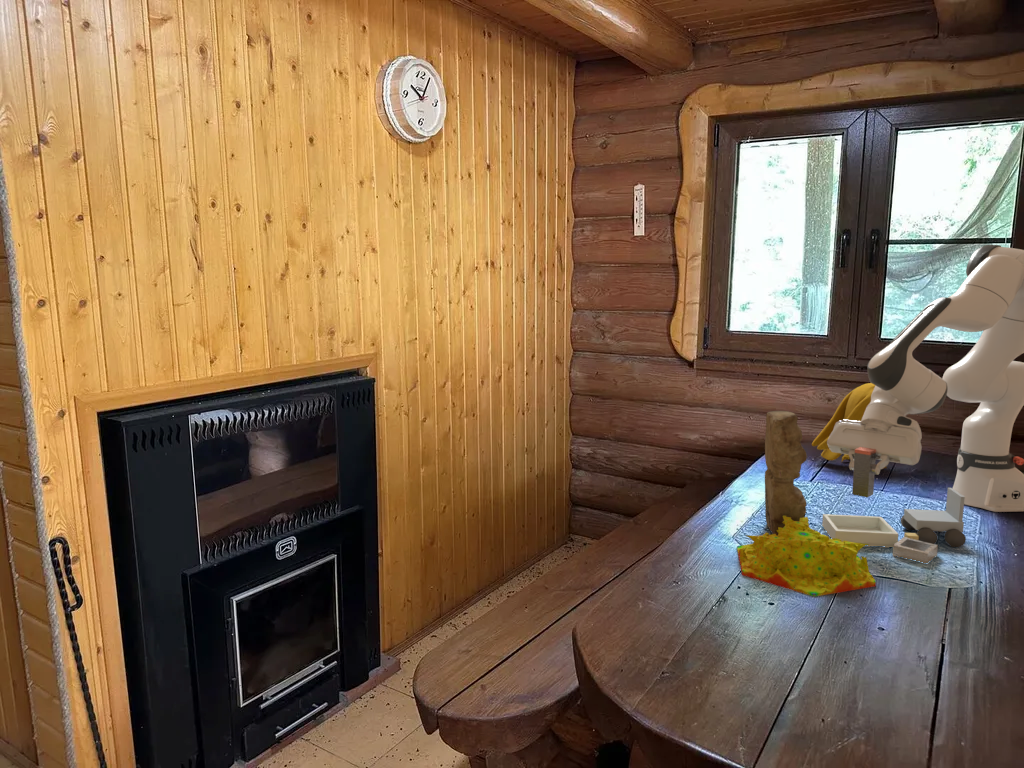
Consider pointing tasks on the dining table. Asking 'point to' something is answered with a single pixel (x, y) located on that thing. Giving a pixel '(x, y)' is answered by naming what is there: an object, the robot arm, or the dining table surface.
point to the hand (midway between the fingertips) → (863, 471)
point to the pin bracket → (915, 550)
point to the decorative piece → (805, 560)
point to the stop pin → (863, 472)
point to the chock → (911, 536)
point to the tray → (860, 529)
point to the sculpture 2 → (849, 410)
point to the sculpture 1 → (783, 469)
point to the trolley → (938, 521)
